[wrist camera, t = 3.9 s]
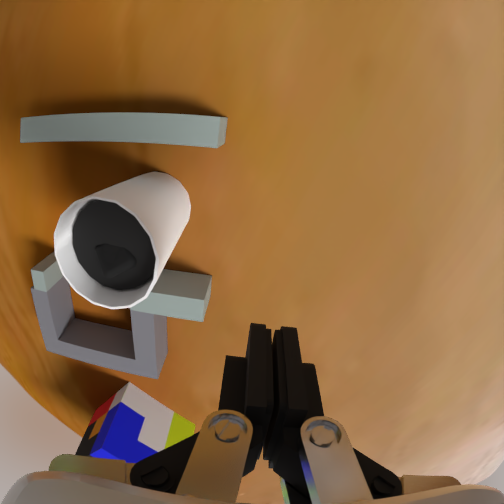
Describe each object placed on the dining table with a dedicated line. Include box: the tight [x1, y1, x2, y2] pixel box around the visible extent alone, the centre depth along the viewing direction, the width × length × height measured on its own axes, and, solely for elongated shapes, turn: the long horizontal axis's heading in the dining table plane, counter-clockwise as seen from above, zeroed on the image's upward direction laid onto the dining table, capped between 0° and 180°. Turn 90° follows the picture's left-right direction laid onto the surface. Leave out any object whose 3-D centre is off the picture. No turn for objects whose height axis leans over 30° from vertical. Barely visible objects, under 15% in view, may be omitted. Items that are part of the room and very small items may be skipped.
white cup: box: [54, 171, 191, 309], centre depth 21 cm, size 7×7×10 cm
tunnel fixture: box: [20, 112, 227, 379], centre depth 24 cm, size 30×22×5 cm
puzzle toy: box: [75, 382, 195, 463], centre depth 32 cm, size 10×10×10 cm
